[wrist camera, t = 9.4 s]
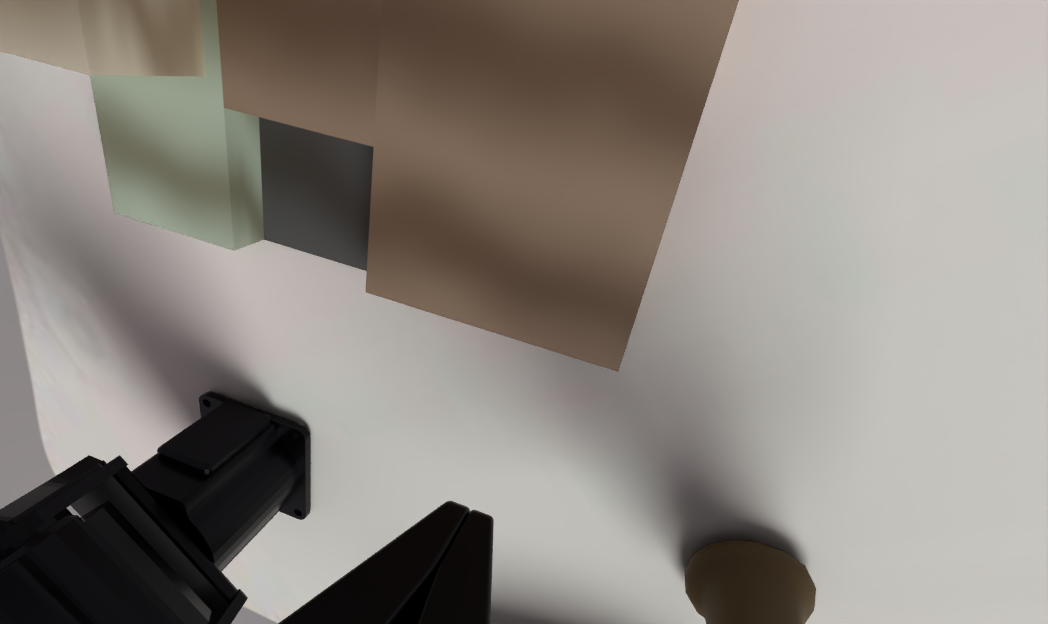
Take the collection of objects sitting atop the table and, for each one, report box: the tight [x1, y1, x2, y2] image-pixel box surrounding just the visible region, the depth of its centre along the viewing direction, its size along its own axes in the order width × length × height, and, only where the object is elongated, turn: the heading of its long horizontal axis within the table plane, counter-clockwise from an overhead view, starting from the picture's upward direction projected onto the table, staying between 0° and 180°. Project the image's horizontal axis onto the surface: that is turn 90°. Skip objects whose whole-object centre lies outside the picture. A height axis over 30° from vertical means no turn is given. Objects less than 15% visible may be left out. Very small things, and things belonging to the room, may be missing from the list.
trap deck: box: [90, 0, 739, 371], centre depth 17 cm, size 17×22×2 cm
